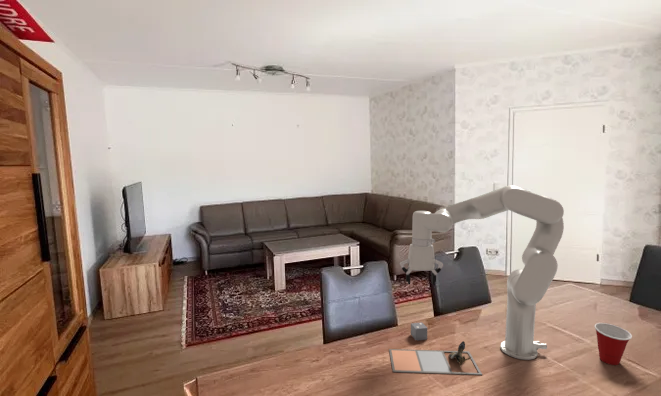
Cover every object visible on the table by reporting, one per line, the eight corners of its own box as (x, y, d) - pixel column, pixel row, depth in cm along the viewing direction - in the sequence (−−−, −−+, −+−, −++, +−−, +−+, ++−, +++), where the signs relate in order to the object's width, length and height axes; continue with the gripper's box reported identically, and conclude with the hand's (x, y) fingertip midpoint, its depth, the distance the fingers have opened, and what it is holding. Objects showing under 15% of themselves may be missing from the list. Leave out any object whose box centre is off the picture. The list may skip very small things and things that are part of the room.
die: (421, 333, 154) (422, 322, 153) (427, 339, 149) (427, 327, 148) (410, 334, 153) (410, 323, 152) (415, 340, 148) (415, 328, 147)
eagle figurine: (476, 365, 129) (469, 347, 137) (466, 351, 127) (460, 334, 136) (457, 374, 130) (451, 356, 139) (447, 360, 129) (441, 342, 137)
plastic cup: (619, 373, 125) (622, 340, 124) (585, 357, 135) (588, 326, 133) (635, 364, 130) (638, 332, 129) (601, 350, 140) (604, 320, 138)
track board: (469, 352, 139) (469, 351, 139) (482, 375, 125) (482, 374, 125) (389, 349, 141) (389, 349, 141) (392, 372, 127) (392, 371, 127)
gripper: (441, 239, 149) (440, 280, 151) (398, 239, 150) (398, 279, 152) (446, 244, 141) (444, 287, 143) (400, 244, 142) (400, 286, 145)
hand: (420, 283), depth 148 cm, fingers open, 9 cm apart
